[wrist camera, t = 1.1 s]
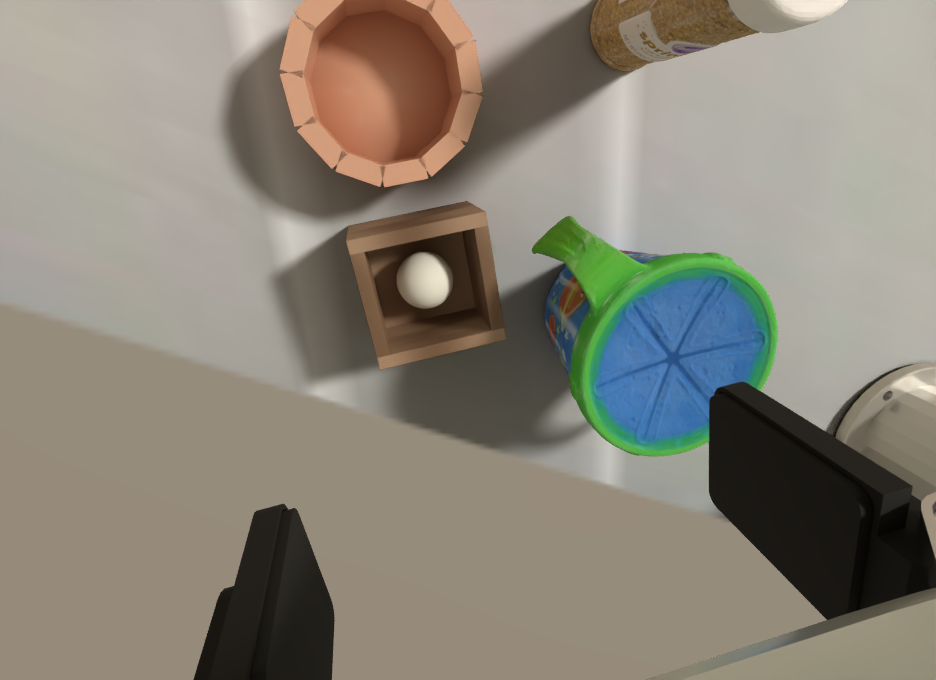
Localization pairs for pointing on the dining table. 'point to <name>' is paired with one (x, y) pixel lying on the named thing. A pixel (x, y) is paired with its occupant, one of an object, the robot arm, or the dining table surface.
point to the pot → (382, 85)
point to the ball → (424, 280)
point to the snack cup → (653, 337)
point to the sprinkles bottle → (690, 25)
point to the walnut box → (456, 319)
